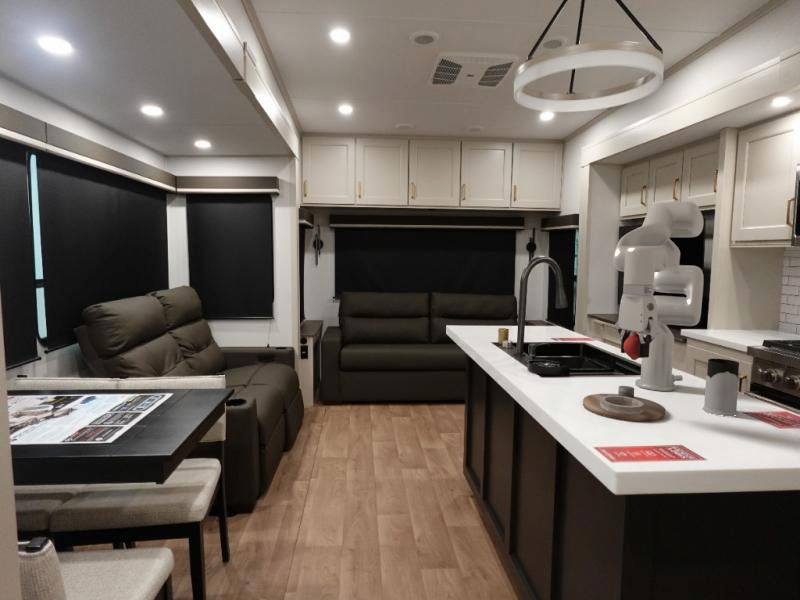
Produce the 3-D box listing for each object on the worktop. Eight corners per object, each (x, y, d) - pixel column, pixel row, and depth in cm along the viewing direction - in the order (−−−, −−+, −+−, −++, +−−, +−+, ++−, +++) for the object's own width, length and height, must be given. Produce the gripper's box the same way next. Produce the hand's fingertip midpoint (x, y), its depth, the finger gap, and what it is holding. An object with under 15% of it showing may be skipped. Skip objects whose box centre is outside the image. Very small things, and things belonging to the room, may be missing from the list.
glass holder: (706, 414, 138) (710, 363, 137) (693, 400, 152) (696, 353, 151) (742, 418, 136) (746, 365, 134) (726, 403, 149) (729, 355, 148)
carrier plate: (627, 396, 156) (628, 382, 155) (683, 418, 135) (685, 402, 134) (567, 400, 150) (568, 386, 150) (616, 424, 129) (617, 408, 129)
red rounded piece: (640, 358, 139) (642, 330, 138) (649, 362, 133) (651, 333, 132) (619, 357, 139) (621, 330, 138) (627, 361, 134) (629, 333, 133)
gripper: (674, 293, 127) (670, 360, 129) (626, 288, 144) (623, 348, 145) (651, 293, 125) (647, 362, 127) (605, 288, 142) (602, 349, 143)
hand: (634, 354), depth 136 cm, fingers closed on red rounded piece, 5 cm apart
